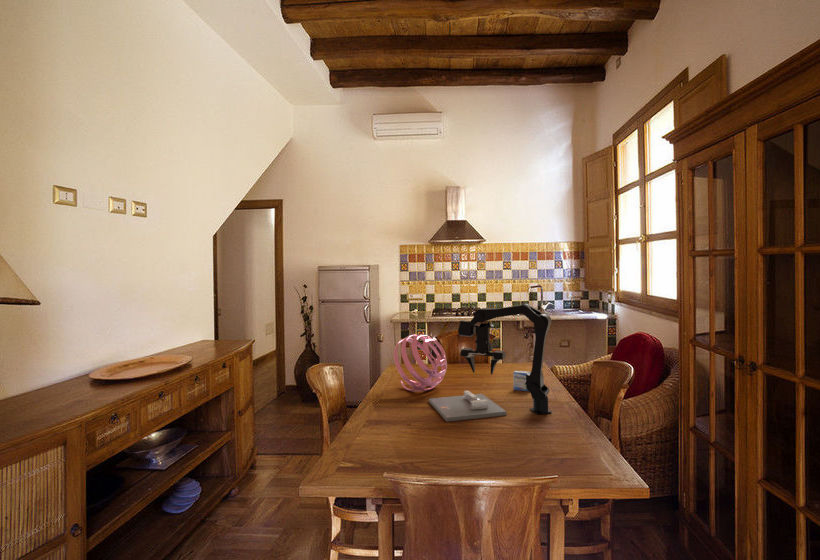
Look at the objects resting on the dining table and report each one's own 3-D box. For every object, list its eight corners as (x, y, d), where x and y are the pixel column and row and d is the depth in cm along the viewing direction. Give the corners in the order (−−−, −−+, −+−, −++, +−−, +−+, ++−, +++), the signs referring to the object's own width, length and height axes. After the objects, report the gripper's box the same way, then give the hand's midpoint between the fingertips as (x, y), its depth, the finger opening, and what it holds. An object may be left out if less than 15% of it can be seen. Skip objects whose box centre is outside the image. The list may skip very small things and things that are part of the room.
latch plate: (506, 415, 169) (506, 411, 169) (446, 421, 164) (446, 417, 164) (481, 396, 194) (481, 393, 194) (428, 402, 188) (428, 398, 188)
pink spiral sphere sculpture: (373, 348, 214) (408, 320, 200) (411, 353, 233) (446, 328, 219) (387, 401, 199) (426, 375, 185) (427, 401, 218) (465, 378, 204)
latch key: (488, 408, 173) (488, 400, 173) (472, 409, 171) (472, 402, 171) (473, 396, 188) (473, 389, 188) (458, 398, 187) (458, 391, 187)
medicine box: (513, 390, 204) (512, 372, 203) (515, 387, 208) (515, 369, 207) (530, 392, 200) (529, 373, 200) (532, 389, 204) (531, 371, 204)
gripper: (508, 336, 186) (508, 371, 187) (468, 333, 195) (468, 367, 195) (502, 340, 176) (502, 377, 177) (459, 337, 185) (459, 372, 185)
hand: (482, 373), depth 184 cm, fingers open, 8 cm apart
